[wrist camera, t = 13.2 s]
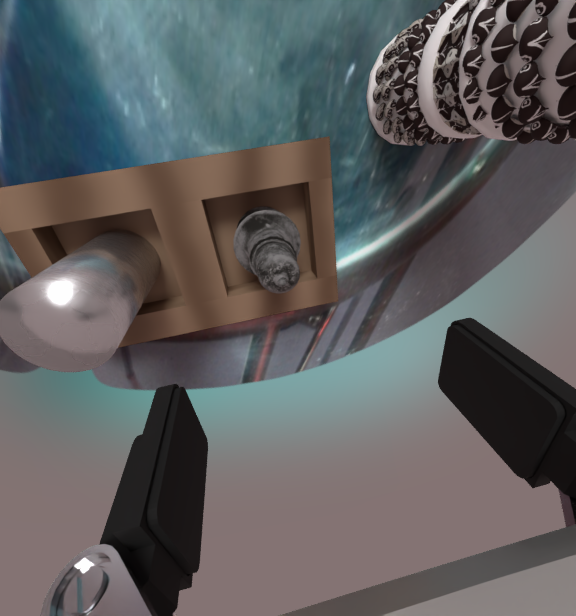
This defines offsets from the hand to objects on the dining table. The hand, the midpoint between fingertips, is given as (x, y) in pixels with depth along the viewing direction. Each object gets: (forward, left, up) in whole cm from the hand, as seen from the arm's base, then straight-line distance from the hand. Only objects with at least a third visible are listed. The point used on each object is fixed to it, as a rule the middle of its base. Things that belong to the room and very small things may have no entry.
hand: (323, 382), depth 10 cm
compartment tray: (+7, 0, -22) cm, 23 cm away
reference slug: (+13, 0, -21) cm, 24 cm away
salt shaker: (0, 0, -21) cm, 21 cm away
